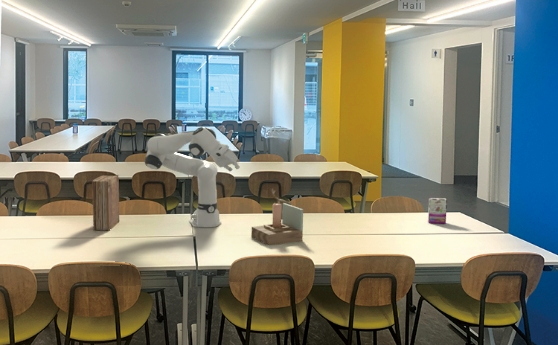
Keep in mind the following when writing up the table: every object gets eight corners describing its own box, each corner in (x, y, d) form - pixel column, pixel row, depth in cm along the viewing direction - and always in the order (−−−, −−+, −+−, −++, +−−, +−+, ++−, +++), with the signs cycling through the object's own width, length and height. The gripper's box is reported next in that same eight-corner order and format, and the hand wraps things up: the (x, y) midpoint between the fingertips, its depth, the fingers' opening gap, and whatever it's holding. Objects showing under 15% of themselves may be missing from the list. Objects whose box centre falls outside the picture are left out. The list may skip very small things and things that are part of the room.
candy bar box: (444, 222, 364) (446, 198, 362) (445, 224, 359) (447, 199, 357) (427, 221, 366) (428, 197, 364) (428, 223, 361) (429, 198, 359)
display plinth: (251, 237, 316) (251, 206, 314) (284, 232, 327) (284, 203, 325) (268, 245, 299) (269, 212, 297) (302, 240, 310) (303, 209, 308)
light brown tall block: (270, 228, 313) (271, 204, 311) (278, 227, 316) (278, 203, 314) (275, 229, 309) (275, 205, 307) (282, 229, 312) (283, 204, 310)
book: (109, 231, 323) (108, 180, 319) (93, 231, 322) (91, 180, 318) (119, 221, 348) (118, 174, 344) (104, 221, 347) (103, 174, 343)
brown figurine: (295, 227, 338) (289, 187, 334) (278, 232, 331) (272, 191, 327) (285, 225, 347) (279, 186, 343) (268, 230, 340) (262, 190, 337)
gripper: (206, 158, 306) (223, 175, 309) (221, 152, 288) (239, 171, 292) (213, 150, 308) (230, 168, 312) (228, 144, 291) (246, 162, 294)
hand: (234, 169), depth 302 cm, fingers open, 8 cm apart
